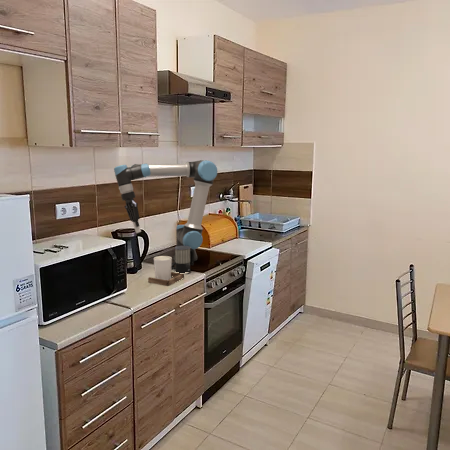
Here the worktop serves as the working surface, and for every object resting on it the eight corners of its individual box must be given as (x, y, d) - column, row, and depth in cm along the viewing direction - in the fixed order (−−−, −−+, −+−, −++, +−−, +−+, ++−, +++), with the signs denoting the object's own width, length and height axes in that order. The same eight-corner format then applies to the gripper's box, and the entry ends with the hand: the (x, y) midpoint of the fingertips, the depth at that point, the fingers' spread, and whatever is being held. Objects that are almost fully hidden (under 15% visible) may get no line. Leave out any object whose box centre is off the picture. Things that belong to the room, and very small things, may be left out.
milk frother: (187, 275, 244) (187, 249, 241) (161, 272, 248) (161, 247, 246) (195, 268, 257) (196, 244, 255) (171, 266, 262) (171, 242, 259)
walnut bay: (164, 275, 243) (164, 271, 242) (184, 278, 237) (184, 274, 237) (148, 282, 229) (148, 277, 229) (168, 285, 223) (168, 281, 223)
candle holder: (153, 277, 238) (153, 256, 236) (171, 276, 240) (171, 255, 238) (154, 282, 229) (154, 260, 227) (172, 281, 231) (172, 259, 229)
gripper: (116, 195, 248) (128, 234, 251) (125, 192, 238) (137, 233, 240) (128, 192, 253) (139, 231, 255) (137, 189, 242) (149, 229, 245)
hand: (138, 232), depth 248 cm, fingers closed
